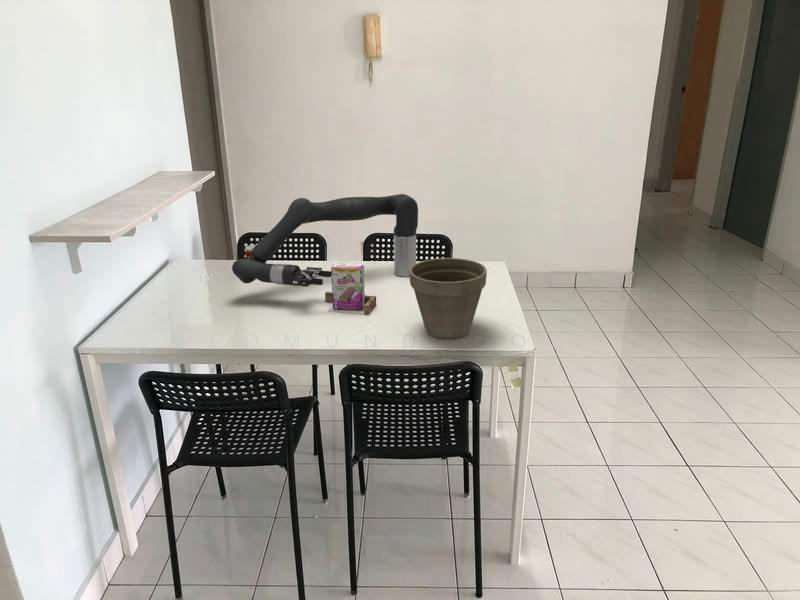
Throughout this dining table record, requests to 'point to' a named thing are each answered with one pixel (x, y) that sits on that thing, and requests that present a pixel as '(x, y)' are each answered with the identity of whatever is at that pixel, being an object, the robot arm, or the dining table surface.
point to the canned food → (249, 251)
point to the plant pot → (447, 294)
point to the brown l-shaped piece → (368, 307)
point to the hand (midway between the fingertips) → (326, 278)
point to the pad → (347, 311)
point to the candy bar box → (348, 286)
